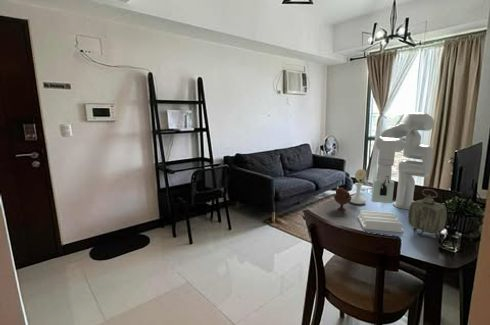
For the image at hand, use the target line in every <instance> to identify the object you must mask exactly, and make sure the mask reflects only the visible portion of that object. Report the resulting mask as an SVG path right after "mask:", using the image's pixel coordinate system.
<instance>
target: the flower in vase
mask: <svg viewBox="0 0 490 325" xmlns="http://www.w3.org/2000/svg"><path fill="white" fill-rule="evenodd" d="M354 175H355V176H354V178H355V179H356V181H357V182H355V183H354V184H355V187H356V191H355V194H354V195H351V197H352V198H351V200H350V202H349V203H352V204H355V205H363V204H366V203H367V199H366V198H365V197H363V195H362V194H361V188H362V186H363V185H366V184H367V183H366V181H365V180H364V179H365V178H366V176H367V171H366V170H365V169H364V168H363V169H362V168H361V169H357V170H356V172H355V174H354ZM360 180H361V181H360Z"/></svg>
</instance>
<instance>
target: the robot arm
mask: <svg viewBox="0 0 490 325" xmlns="http://www.w3.org/2000/svg"><path fill="white" fill-rule="evenodd" d="M434 123H435V120H434V118H433V117H432V116H431V115H430V114H429V113H425V112H405V113H403V114H402V115H401V116H400V118H399V119H398V121H397V122H396V124H395V125H394V126H392V127H389V128H387V129H385V130H383V131H381V133H380V134H379V135H378V137H377V139H376V141H375V148H376V149H377V150H378V161H377V165H378V166H377V170H376V171H377V172H376V179H375V180H378V181H379V182H380V183H382V185H381V189H380V195H382V196H386V195H387V187H388V184H390V182H391V181H392V171H393V170H392V167H393V166H394V164H395V162H394V161H395V154H396V153H400V152H402V151H403V156H404V158H407V159H408V160H407V159H406V160H401V161H399V163H398V166H397V168H398V181H397V189H396V198H395V201H394V202H392V206H394V207H396V208H399V209H402V210H403V209H404V210H409V208H410V205H411V203H412V202H415V201H416V200H414V192H415V187H416V182H415V179H414V177H419V178H420V177H421V178H426V177H429V175H430V172H431V168H432V161H433V154H434V149H433V147H432V146H431V145H429V144H421V141H422V136H421V134H420V132H419V131H427V132H428V131H431V130H432V129H433V128H434ZM403 137H405V140H404V139H402V138H403ZM410 159H413V160H410ZM416 160H417V161H416ZM418 160H421V161H418ZM413 176H414V177H413ZM384 182H385V183H384ZM383 184H385V185H383Z"/></svg>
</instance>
